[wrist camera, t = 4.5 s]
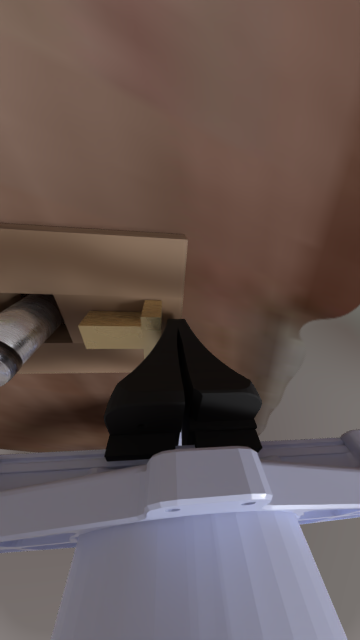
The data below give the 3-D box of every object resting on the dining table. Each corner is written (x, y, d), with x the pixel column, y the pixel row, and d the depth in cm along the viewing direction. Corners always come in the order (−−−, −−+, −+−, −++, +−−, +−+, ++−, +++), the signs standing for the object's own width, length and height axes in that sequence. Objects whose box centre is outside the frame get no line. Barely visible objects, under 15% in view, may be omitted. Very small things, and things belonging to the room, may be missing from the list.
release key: (162, 342, 14) (161, 362, 12) (98, 342, 13) (87, 363, 12) (161, 300, 12) (160, 317, 10) (85, 298, 11) (69, 315, 9)
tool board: (176, 353, 18) (177, 371, 16) (-64, 354, 16) (-97, 375, 14) (184, 234, 12) (187, 239, 10) (-221, 209, 10) (-328, 209, 7)
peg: (76, 319, 15) (20, 387, 9) (41, 318, 15) (-41, 389, 9) (65, 288, 13) (-13, 348, 8) (24, 286, 13) (-89, 348, 7)
